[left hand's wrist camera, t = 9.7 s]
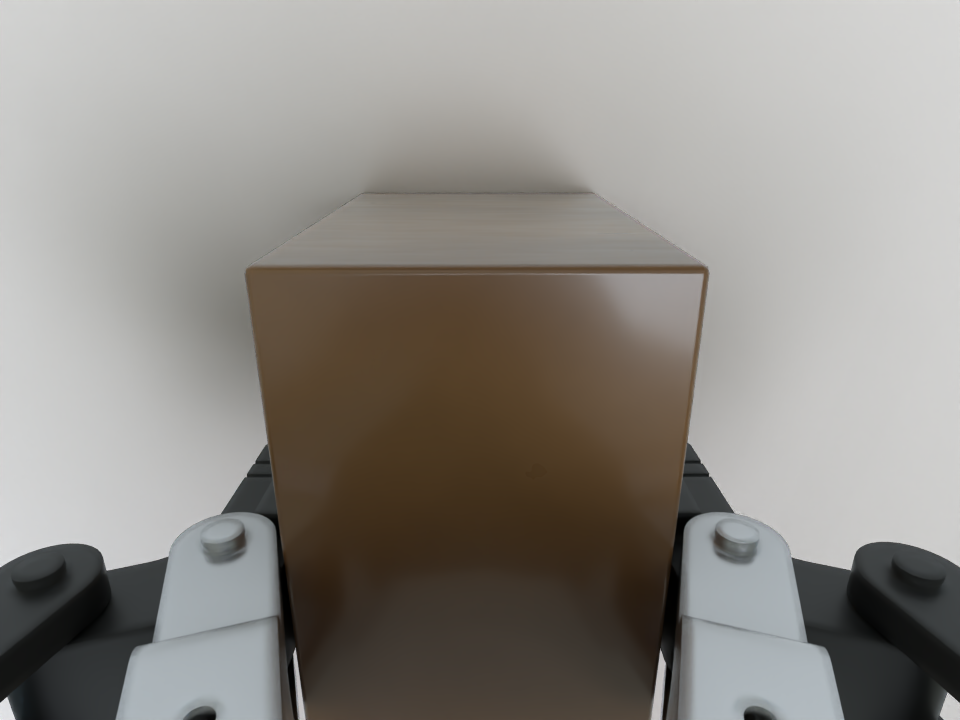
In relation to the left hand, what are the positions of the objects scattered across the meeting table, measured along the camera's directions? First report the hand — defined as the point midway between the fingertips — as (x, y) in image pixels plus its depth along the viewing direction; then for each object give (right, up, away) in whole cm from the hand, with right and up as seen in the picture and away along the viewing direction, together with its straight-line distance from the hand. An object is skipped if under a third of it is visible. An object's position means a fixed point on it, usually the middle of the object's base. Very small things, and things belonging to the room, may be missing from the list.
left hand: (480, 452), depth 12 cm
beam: (0, -21, +10) cm, 24 cm away
